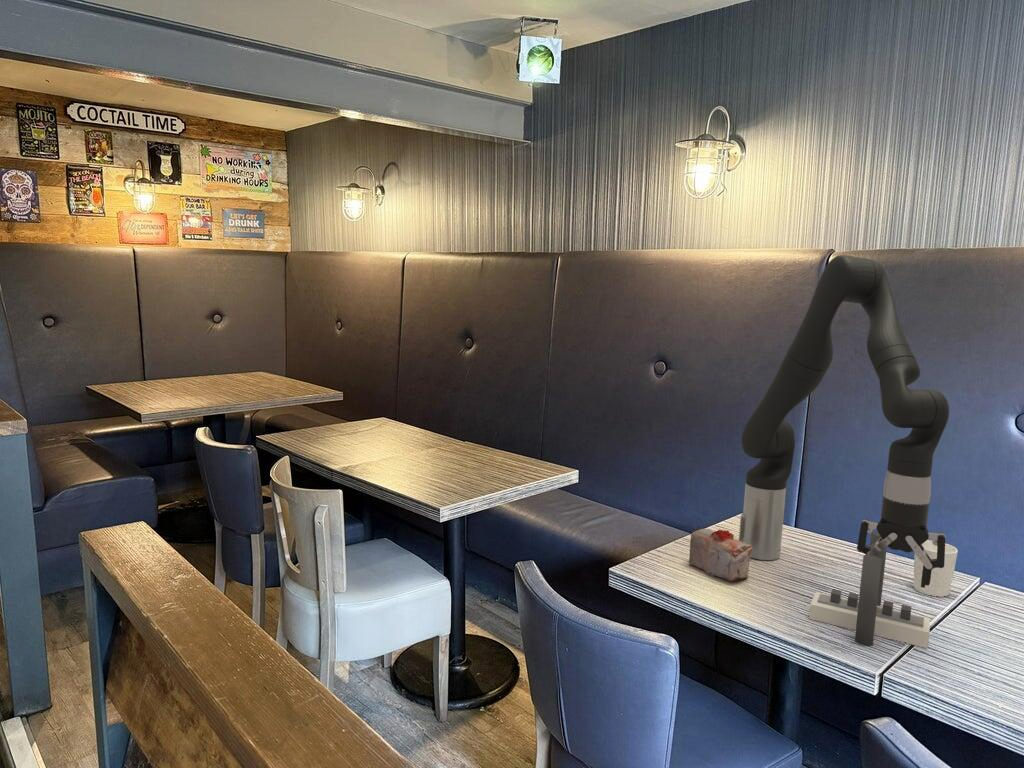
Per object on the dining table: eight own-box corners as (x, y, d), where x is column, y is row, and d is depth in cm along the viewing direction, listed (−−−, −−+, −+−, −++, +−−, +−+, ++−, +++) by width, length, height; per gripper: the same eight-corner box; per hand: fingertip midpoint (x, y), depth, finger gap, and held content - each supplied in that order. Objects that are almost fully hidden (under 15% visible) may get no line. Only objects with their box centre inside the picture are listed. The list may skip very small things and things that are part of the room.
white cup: (910, 593, 152) (915, 548, 151) (909, 580, 159) (914, 537, 158) (953, 601, 149) (959, 555, 147) (950, 588, 155) (956, 544, 154)
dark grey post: (853, 642, 129) (862, 558, 127) (855, 636, 132) (864, 553, 130) (872, 647, 128) (881, 562, 126) (873, 640, 130) (882, 557, 128)
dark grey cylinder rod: (862, 612, 142) (870, 535, 140) (863, 606, 144) (871, 531, 142) (879, 616, 140) (887, 538, 138) (880, 610, 143) (888, 534, 141)
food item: (755, 579, 157) (758, 536, 156) (733, 587, 152) (736, 543, 151) (705, 559, 168) (708, 519, 166) (683, 566, 163) (685, 525, 162)
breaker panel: (809, 618, 138) (811, 592, 138) (814, 605, 144) (817, 580, 143) (927, 648, 128) (930, 620, 127) (928, 633, 134) (931, 606, 133)
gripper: (861, 494, 131) (852, 578, 133) (951, 509, 124) (940, 597, 126) (865, 485, 137) (857, 565, 140) (951, 498, 130) (941, 583, 132)
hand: (896, 580), depth 133 cm, fingers open, 8 cm apart
